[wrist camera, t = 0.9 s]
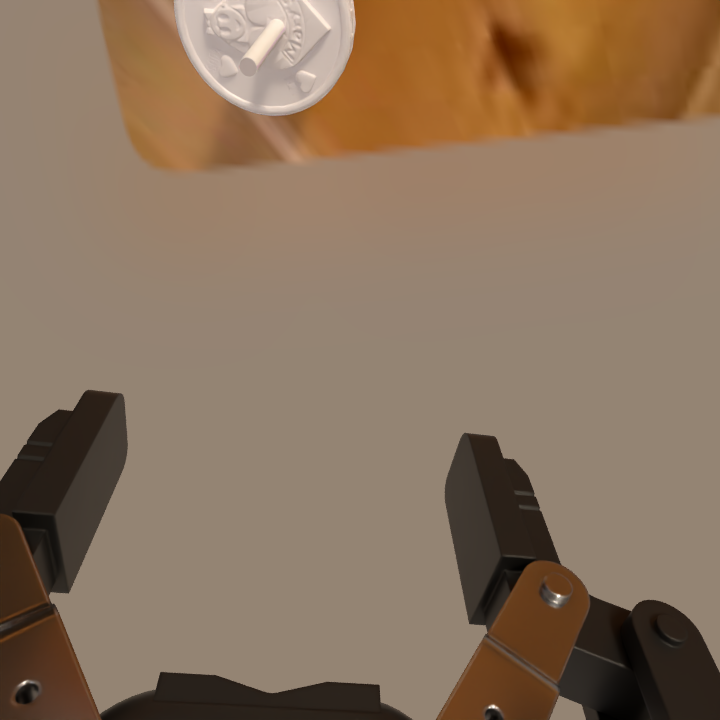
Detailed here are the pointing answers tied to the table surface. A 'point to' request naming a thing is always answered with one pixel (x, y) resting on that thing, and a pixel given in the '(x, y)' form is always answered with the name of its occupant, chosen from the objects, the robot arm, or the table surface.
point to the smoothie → (268, 49)
